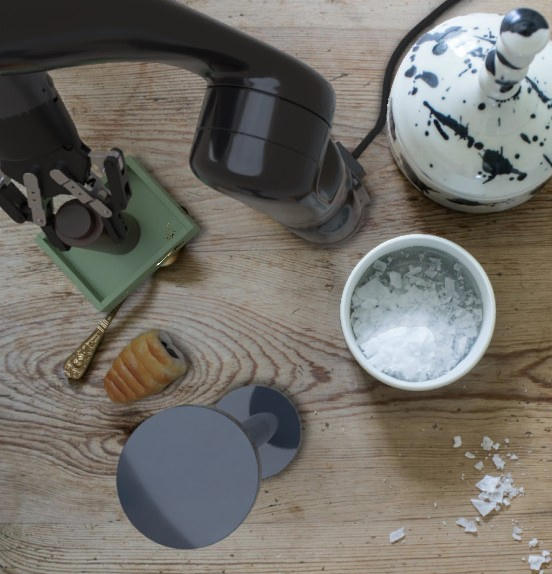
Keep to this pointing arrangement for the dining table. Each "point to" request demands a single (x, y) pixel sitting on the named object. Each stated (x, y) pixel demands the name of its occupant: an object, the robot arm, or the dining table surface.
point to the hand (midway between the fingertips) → (95, 243)
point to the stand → (205, 465)
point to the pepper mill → (91, 229)
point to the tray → (143, 258)
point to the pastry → (144, 368)
